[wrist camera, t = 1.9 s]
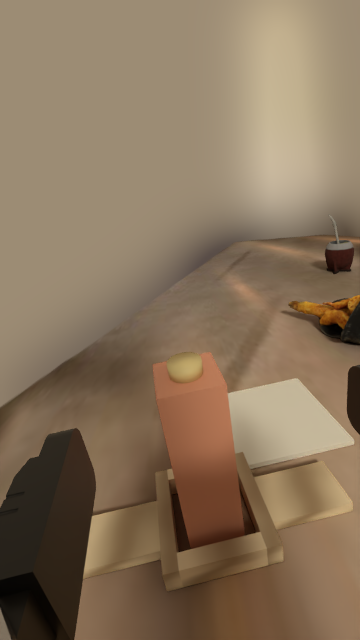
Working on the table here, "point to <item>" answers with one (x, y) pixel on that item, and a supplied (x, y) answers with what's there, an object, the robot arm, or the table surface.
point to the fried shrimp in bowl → (335, 317)
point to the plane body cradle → (223, 557)
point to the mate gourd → (339, 253)
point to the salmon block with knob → (200, 446)
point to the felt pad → (282, 424)
